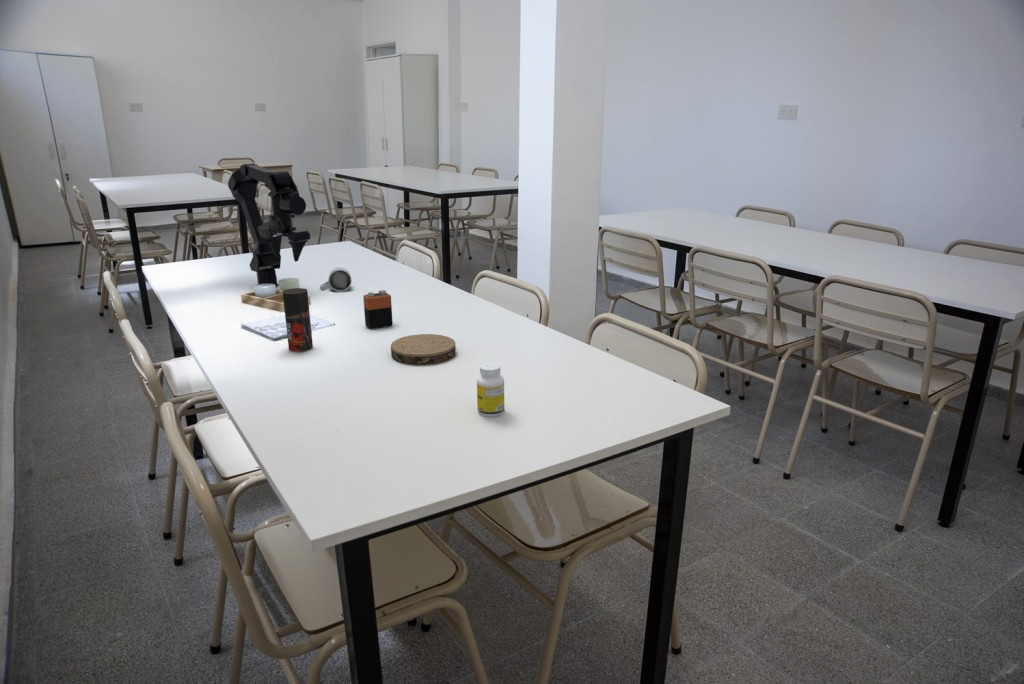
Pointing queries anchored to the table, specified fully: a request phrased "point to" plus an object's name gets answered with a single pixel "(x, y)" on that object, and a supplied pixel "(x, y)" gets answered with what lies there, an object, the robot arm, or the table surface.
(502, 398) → the supplement bottle
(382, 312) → the battery
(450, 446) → the table surface
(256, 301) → the divided wooden tray
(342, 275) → the ceramic mug
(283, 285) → the sage green cylinder
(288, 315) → the deodorant
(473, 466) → the table surface
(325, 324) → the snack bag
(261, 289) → the pale blue rounded cylinder
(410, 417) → the table surface
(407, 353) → the wood slice coaster
